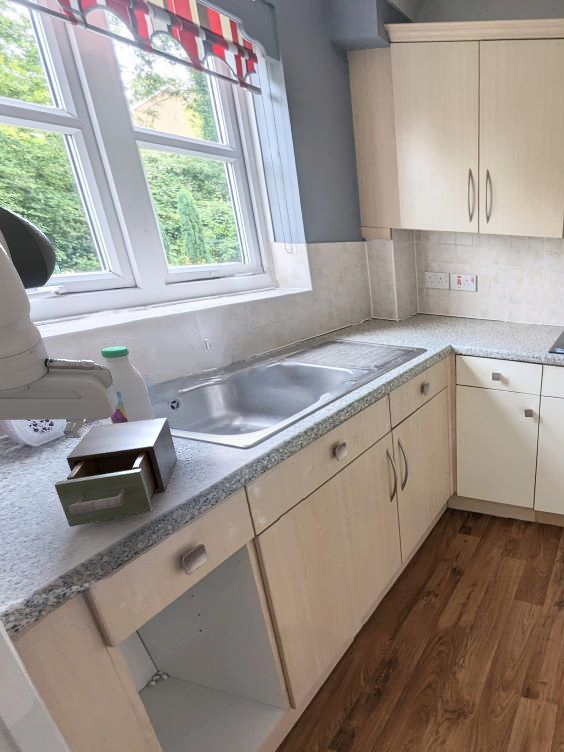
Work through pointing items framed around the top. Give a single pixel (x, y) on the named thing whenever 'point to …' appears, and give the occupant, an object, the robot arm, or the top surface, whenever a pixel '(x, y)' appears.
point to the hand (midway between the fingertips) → (28, 436)
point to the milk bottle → (127, 387)
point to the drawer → (107, 488)
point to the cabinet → (131, 445)
